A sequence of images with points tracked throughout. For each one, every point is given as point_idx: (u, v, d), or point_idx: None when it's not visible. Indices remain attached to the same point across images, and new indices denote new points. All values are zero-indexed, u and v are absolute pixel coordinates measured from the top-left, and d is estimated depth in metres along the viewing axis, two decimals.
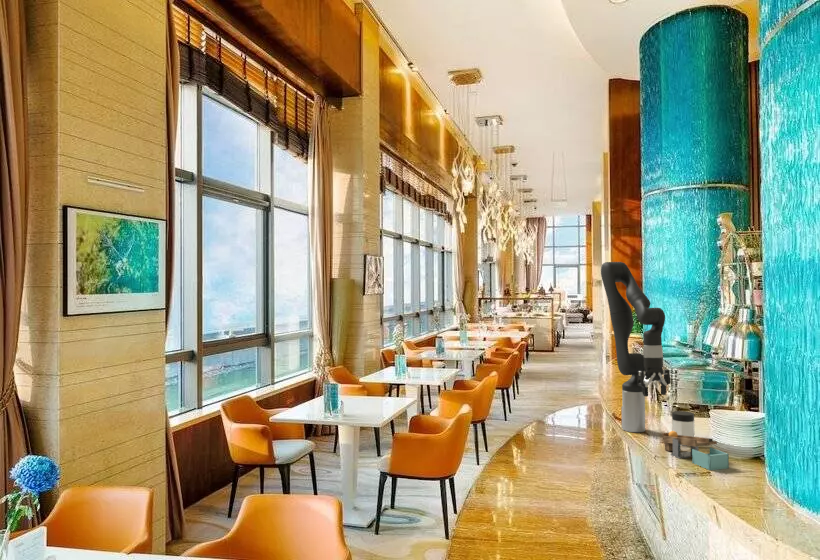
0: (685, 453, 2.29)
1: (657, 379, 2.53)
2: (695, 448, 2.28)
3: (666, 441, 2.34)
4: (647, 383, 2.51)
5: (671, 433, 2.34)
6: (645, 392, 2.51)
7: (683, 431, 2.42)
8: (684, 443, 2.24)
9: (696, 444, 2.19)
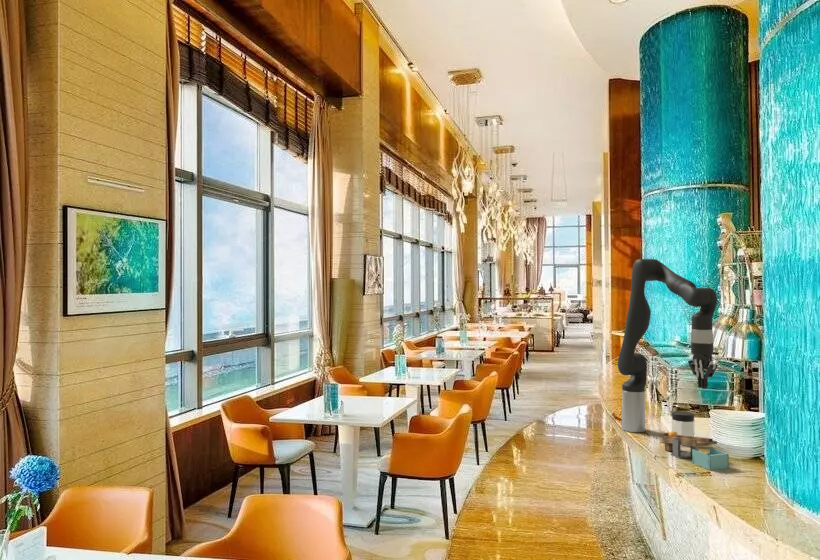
0: (685, 453, 2.29)
1: None
2: (695, 448, 2.28)
3: (666, 441, 2.34)
4: None
5: (671, 433, 2.34)
6: None
7: (683, 431, 2.42)
8: (684, 443, 2.24)
9: (696, 444, 2.19)
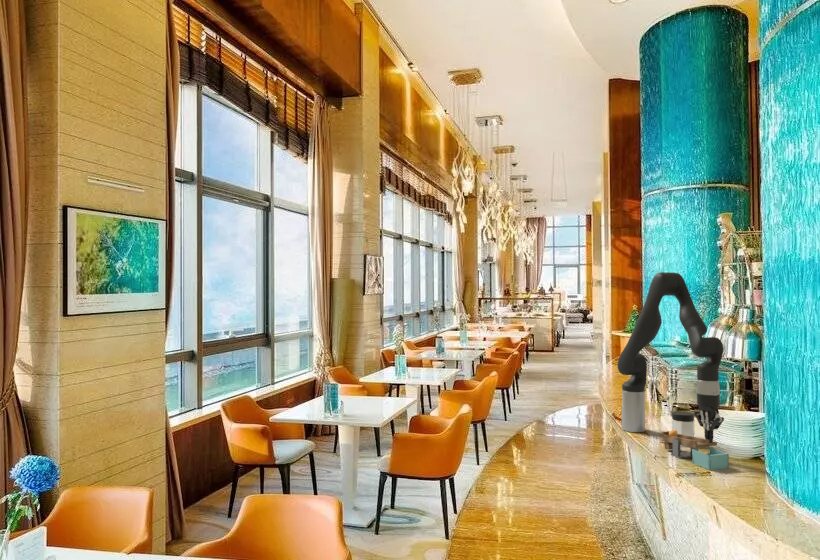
0: (685, 453, 2.29)
1: None
2: (695, 448, 2.28)
3: (666, 440, 2.34)
4: None
5: (671, 432, 2.34)
6: None
7: (683, 431, 2.42)
8: (684, 444, 2.24)
9: (696, 445, 2.19)
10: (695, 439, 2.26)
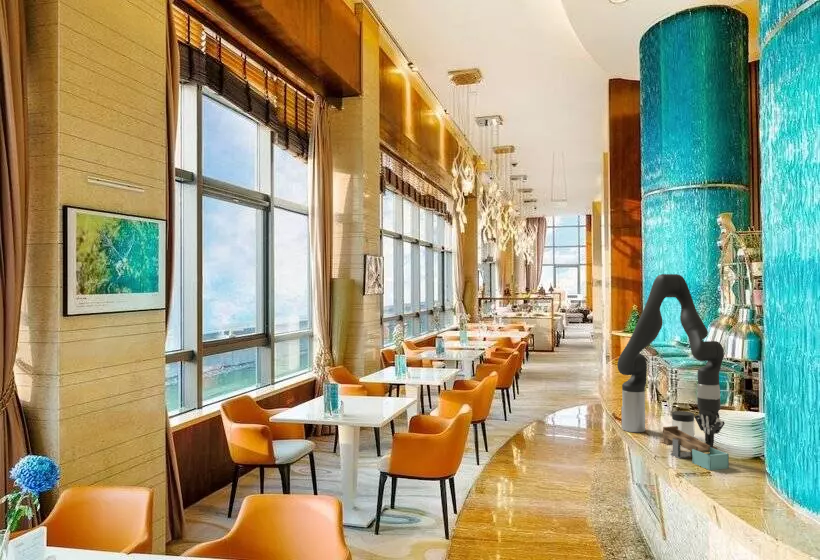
0: (685, 453, 2.29)
1: None
2: None
3: (666, 436, 2.34)
4: None
5: None
6: None
7: (683, 431, 2.42)
8: (684, 446, 2.24)
9: None
10: (696, 441, 2.26)
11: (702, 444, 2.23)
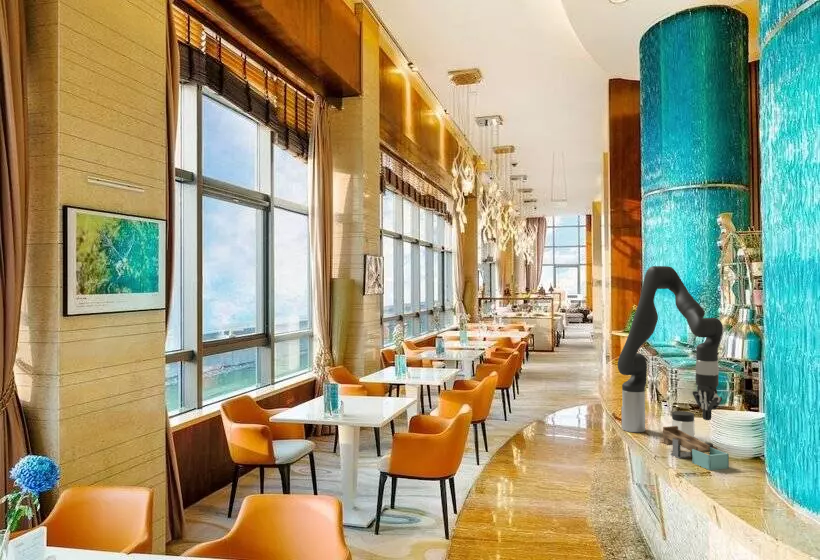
0: (685, 453, 2.29)
1: None
2: None
3: (666, 436, 2.34)
4: None
5: None
6: None
7: (683, 431, 2.42)
8: (684, 446, 2.24)
9: None
10: (696, 441, 2.26)
11: (702, 444, 2.23)
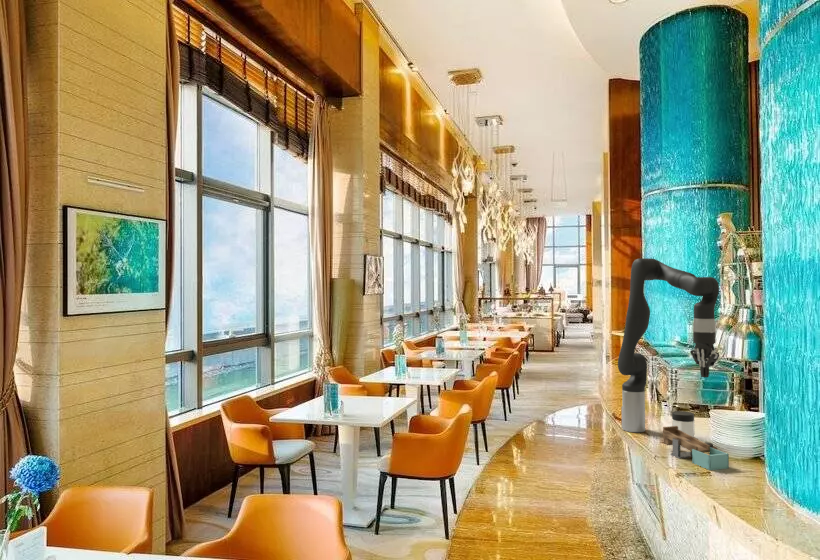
0: (685, 453, 2.29)
1: None
2: None
3: (666, 436, 2.34)
4: None
5: None
6: None
7: (683, 431, 2.42)
8: (684, 446, 2.24)
9: None
10: (696, 441, 2.26)
11: (702, 444, 2.23)
